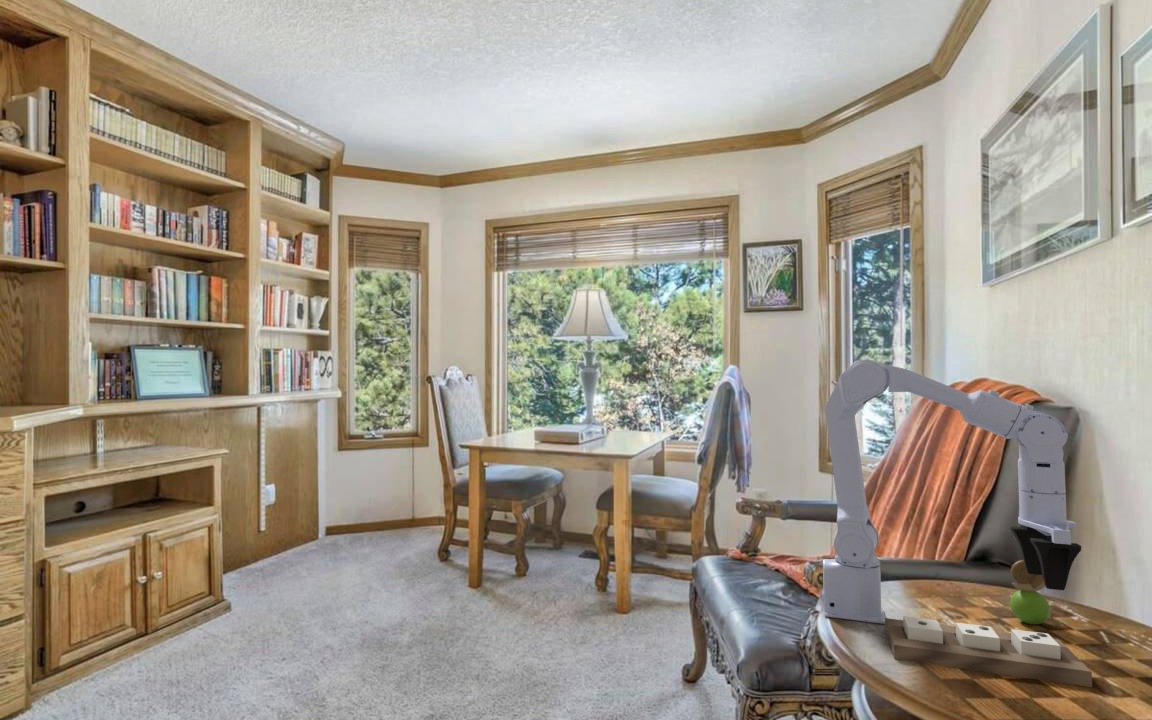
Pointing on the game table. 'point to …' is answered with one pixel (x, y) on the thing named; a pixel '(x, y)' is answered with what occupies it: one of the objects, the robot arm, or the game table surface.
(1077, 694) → the game table surface
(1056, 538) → the robot arm
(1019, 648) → the tile three pips
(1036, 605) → the snail figurine
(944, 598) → the game table surface
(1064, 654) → the key board
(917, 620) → the tile one pip
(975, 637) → the tile two pips
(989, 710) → the game table surface
